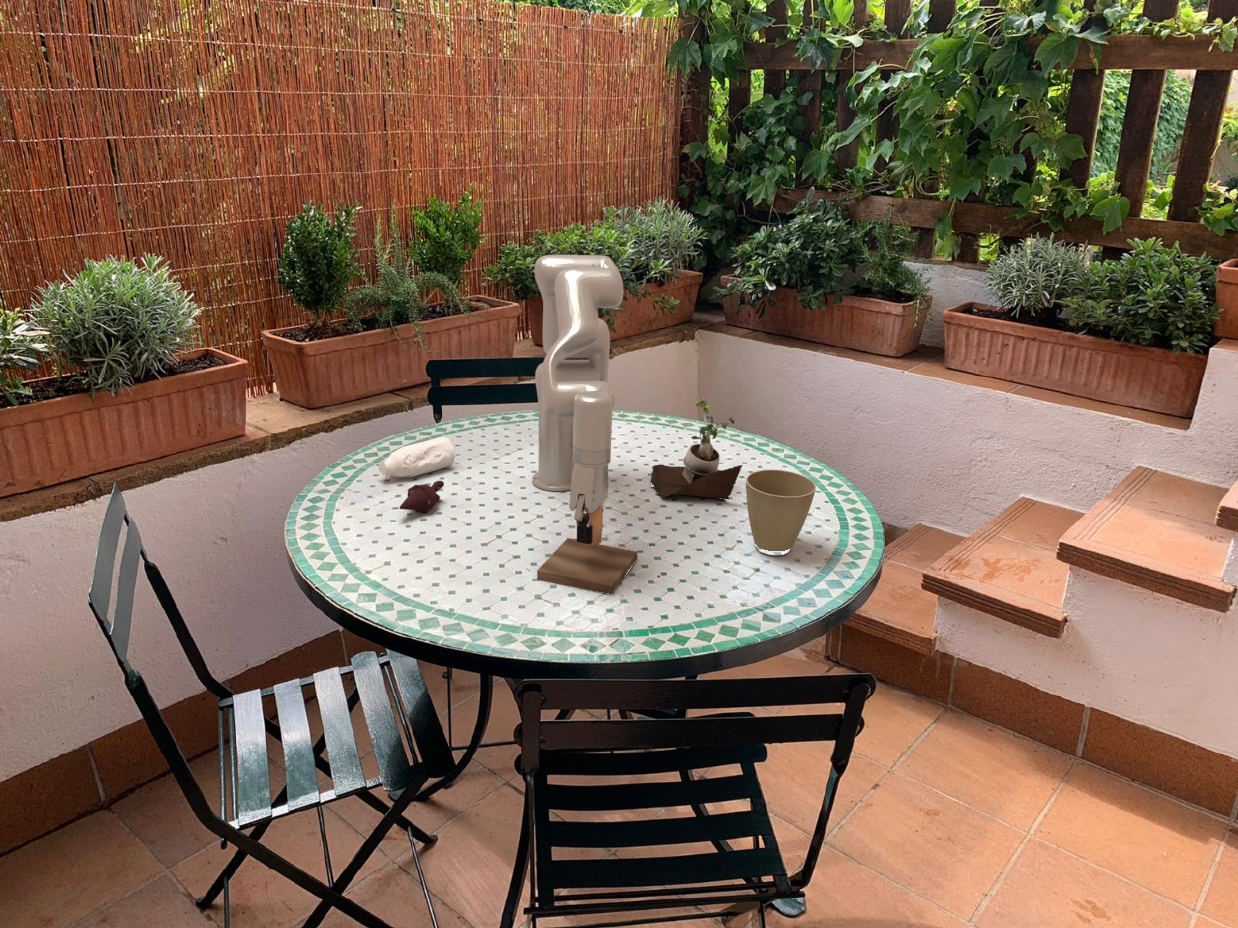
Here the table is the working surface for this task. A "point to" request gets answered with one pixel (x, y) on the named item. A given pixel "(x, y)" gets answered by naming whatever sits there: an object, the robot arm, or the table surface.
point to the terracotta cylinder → (595, 526)
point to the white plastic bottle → (419, 458)
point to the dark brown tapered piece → (422, 497)
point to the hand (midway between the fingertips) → (589, 536)
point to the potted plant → (697, 468)
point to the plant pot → (777, 507)
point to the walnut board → (587, 566)
